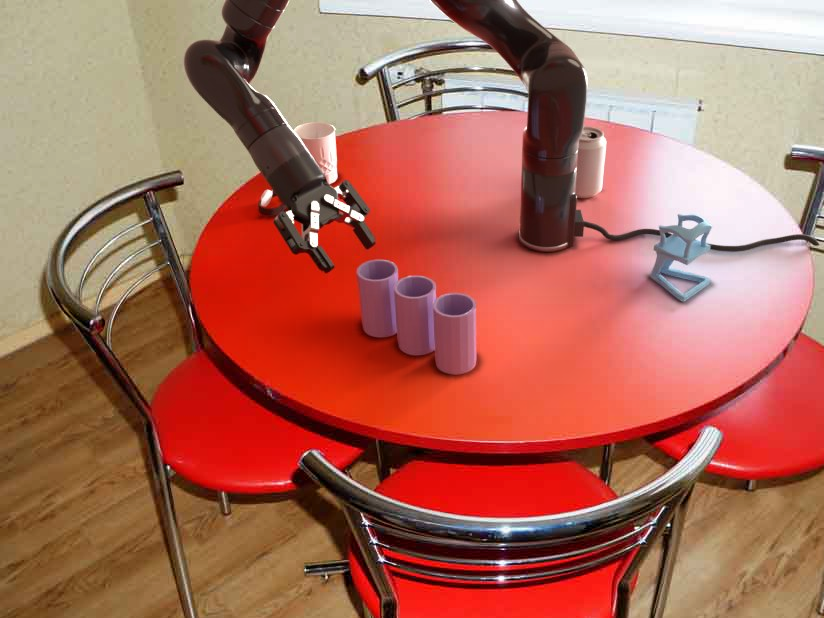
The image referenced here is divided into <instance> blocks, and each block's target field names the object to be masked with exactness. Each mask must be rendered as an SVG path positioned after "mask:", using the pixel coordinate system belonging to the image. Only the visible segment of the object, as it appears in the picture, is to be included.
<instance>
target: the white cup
mask: <svg viewBox="0 0 824 618" xmlns="http://www.w3.org/2000/svg"><path fill="white" fill-rule="evenodd" d="M292 130H293V131H294V132H295V133H296V134H297V135H298V136H299V138H300V139H301V140H302V142H303V143H304V145H305V146H306V148H307V149H308V151H309V152H310V154H311V155H312V156H313V158H314V159H315V161H316V162H317V164H318V165H319V167H320V168H321V170H322V171H323V172H324V174H325V176H326V179H327V182H328V184H329V185H332V184H333V183H335V182H336V181H337V180H338V153H337V139H336V128H335V126H334V125H332V124H330V123H327V122H322V121H321V122H320V121H310V122H305V123H302V124H299V125H297V126H296V127H294V128H293V129H292Z"/></svg>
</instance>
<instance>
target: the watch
mask: <svg viewBox="0 0 824 618" xmlns="http://www.w3.org/2000/svg"><path fill="white" fill-rule="evenodd" d="M275 197H277V195H276V194H275V192H274V191H273V189H272V190H270V189H266V190H264V191H263V193H262V194H261V197H260V200H259V201H258V207H257V208H258V213H259V214H260V215H262V216H264V217H265V216H266V217H272V216H277V215H278V214H279V213H280V212H281V211H287V209H288V208H287V206H286V205H284V204H282V203H281V204H280V205H278V206H276V207H272V208H266V207H267V206H268V205H269V204H270V203H271V200H272V199H273V198H275Z"/></svg>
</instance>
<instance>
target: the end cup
mask: <svg viewBox="0 0 824 618" xmlns="http://www.w3.org/2000/svg"><path fill="white" fill-rule="evenodd" d="M356 280H357V290H358V298H359V307H360V317H361V326H362V330H363V332H364V333H365V334H367V335H368V336H370V337H374V338H388V337H392V336H394V335H397V325H396V312H395V299H394V285H395V283H396V282H397V281H398V280H400V278H399V268H398V266H397V264H396V263H394V262H392V261H391V260H388V259H383V258H381V259H370V260H367V261H364V262H363V263H361V264H360V265H359V266H358V267H357V268H356Z"/></svg>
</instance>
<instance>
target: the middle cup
mask: <svg viewBox="0 0 824 618" xmlns="http://www.w3.org/2000/svg"><path fill="white" fill-rule="evenodd" d="M436 298H437V284H436V282H435V281H434V280H433V279H432V278H430V277H428V276H424V275H420V274H419V275H408V276H404V277H402V278H399V280H398V281H397V282H396V283H395V285H394V299H395V312H396V325H397V333H396V335H397V336H396V338H397V346H398V348H399V350H400V351H401V352H402V353H405V354H406V355H410V356H424V355H427V354H430V353H432V352H435V342H434V320H433V302H434V301H435V300H436Z"/></svg>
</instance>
